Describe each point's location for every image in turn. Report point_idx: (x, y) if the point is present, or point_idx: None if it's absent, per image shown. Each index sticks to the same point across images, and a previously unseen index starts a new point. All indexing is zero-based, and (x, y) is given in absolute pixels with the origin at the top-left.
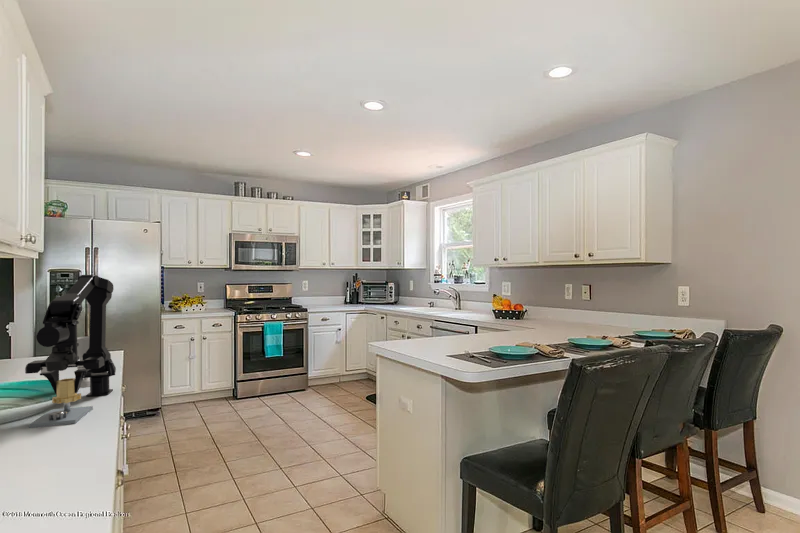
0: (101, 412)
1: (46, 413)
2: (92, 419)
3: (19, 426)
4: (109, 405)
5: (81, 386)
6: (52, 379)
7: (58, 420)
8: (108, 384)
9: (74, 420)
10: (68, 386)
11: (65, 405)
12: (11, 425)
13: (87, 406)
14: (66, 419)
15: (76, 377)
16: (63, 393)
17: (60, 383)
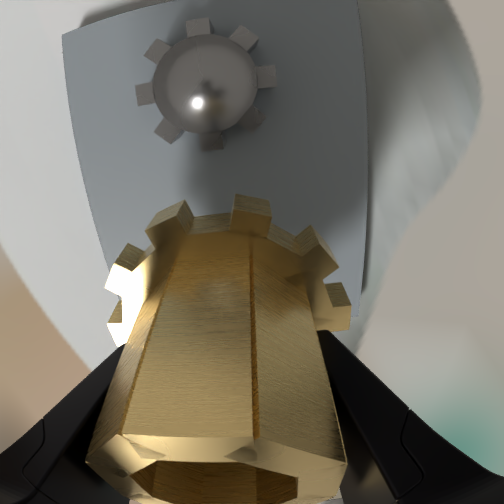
0: (49, 247)
1: (359, 237)
2: (20, 114)
3: (427, 61)
4: (98, 358)
5: (339, 501)
6: (412, 480)
7: (172, 24)
8: None
9: (68, 33)
10: (135, 369)
11: None
12: (474, 107)
13: None
14: (124, 43)
15: (28, 477)
16: (208, 291)
17: (241, 412)
